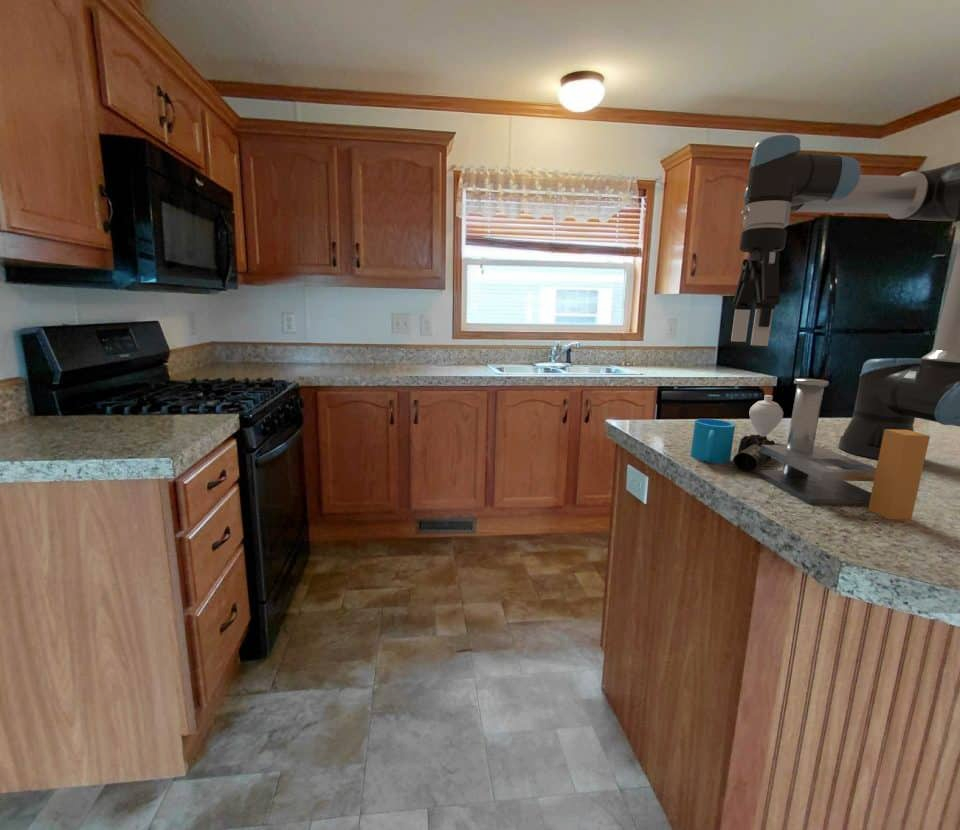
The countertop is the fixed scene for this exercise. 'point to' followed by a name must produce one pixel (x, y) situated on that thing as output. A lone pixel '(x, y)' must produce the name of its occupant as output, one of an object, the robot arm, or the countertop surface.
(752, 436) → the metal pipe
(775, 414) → the spinning top
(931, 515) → the countertop surface
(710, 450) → the mug
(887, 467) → the orange upright block
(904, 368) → the robot arm
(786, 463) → the two-tier gray stand
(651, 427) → the countertop surface
